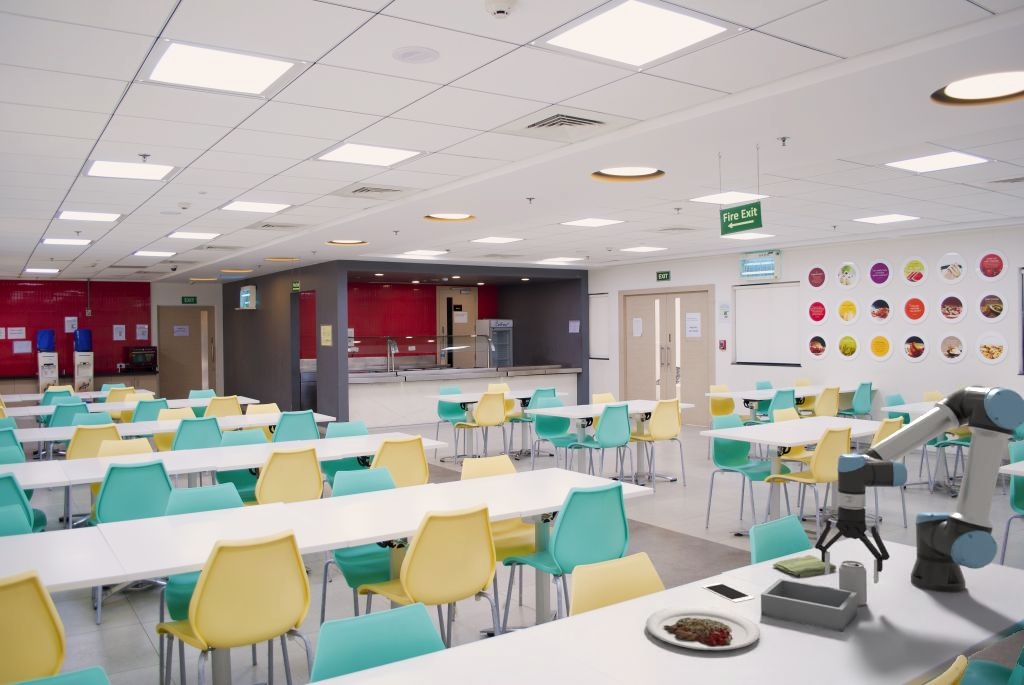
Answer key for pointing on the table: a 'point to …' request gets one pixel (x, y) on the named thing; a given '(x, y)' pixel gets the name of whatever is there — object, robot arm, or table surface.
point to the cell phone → (728, 592)
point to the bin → (809, 604)
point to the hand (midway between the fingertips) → (851, 577)
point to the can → (854, 579)
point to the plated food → (703, 628)
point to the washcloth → (803, 566)
